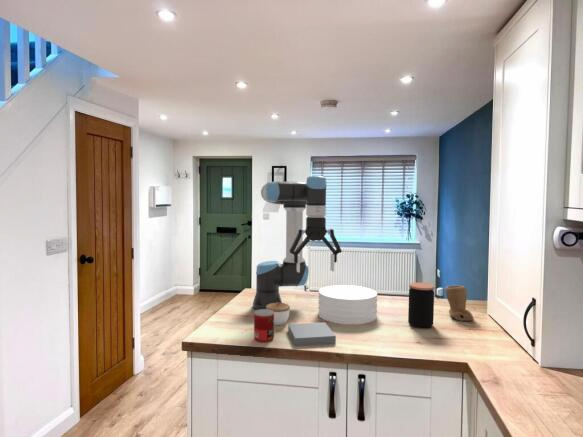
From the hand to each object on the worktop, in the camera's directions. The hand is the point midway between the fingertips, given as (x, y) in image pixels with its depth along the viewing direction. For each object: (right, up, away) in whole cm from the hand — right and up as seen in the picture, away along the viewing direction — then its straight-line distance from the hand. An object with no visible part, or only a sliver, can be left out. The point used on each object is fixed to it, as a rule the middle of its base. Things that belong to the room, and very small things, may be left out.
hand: (315, 271), depth 143 cm
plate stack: (+18, -27, +36) cm, 48 cm away
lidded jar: (-15, -27, +23) cm, 39 cm away
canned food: (-20, -28, +4) cm, 35 cm away
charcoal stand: (-1, -28, +7) cm, 28 cm away
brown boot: (+71, -27, +34) cm, 83 cm away
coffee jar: (+49, -28, +22) cm, 60 cm away
